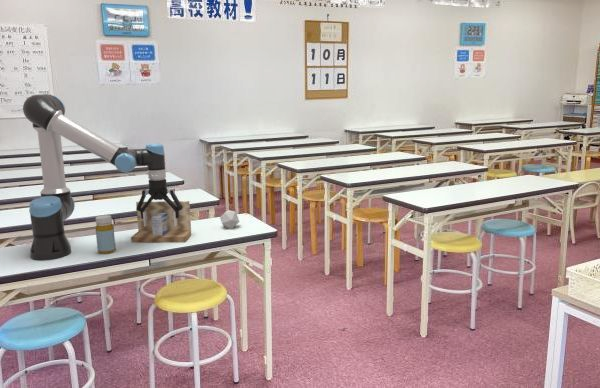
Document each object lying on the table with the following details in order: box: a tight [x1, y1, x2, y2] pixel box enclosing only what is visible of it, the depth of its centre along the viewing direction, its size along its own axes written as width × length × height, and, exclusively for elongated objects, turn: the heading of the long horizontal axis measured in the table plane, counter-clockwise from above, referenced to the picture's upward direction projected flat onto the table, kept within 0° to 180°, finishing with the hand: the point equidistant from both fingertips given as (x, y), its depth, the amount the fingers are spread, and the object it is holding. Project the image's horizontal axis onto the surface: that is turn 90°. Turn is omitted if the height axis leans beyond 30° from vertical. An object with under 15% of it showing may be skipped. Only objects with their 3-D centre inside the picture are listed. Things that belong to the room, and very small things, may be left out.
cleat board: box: [130, 200, 192, 244], centre depth 228 cm, size 24×12×16 cm, turn 89°
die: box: [219, 209, 240, 230], centre depth 246 cm, size 8×9×10 cm
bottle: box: [95, 214, 117, 255], centre depth 211 cm, size 7×7×15 cm
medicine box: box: [151, 213, 168, 236], centre depth 228 cm, size 8×4×9 cm, turn 174°
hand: (160, 225), depth 228 cm, fingers open, 13 cm apart
